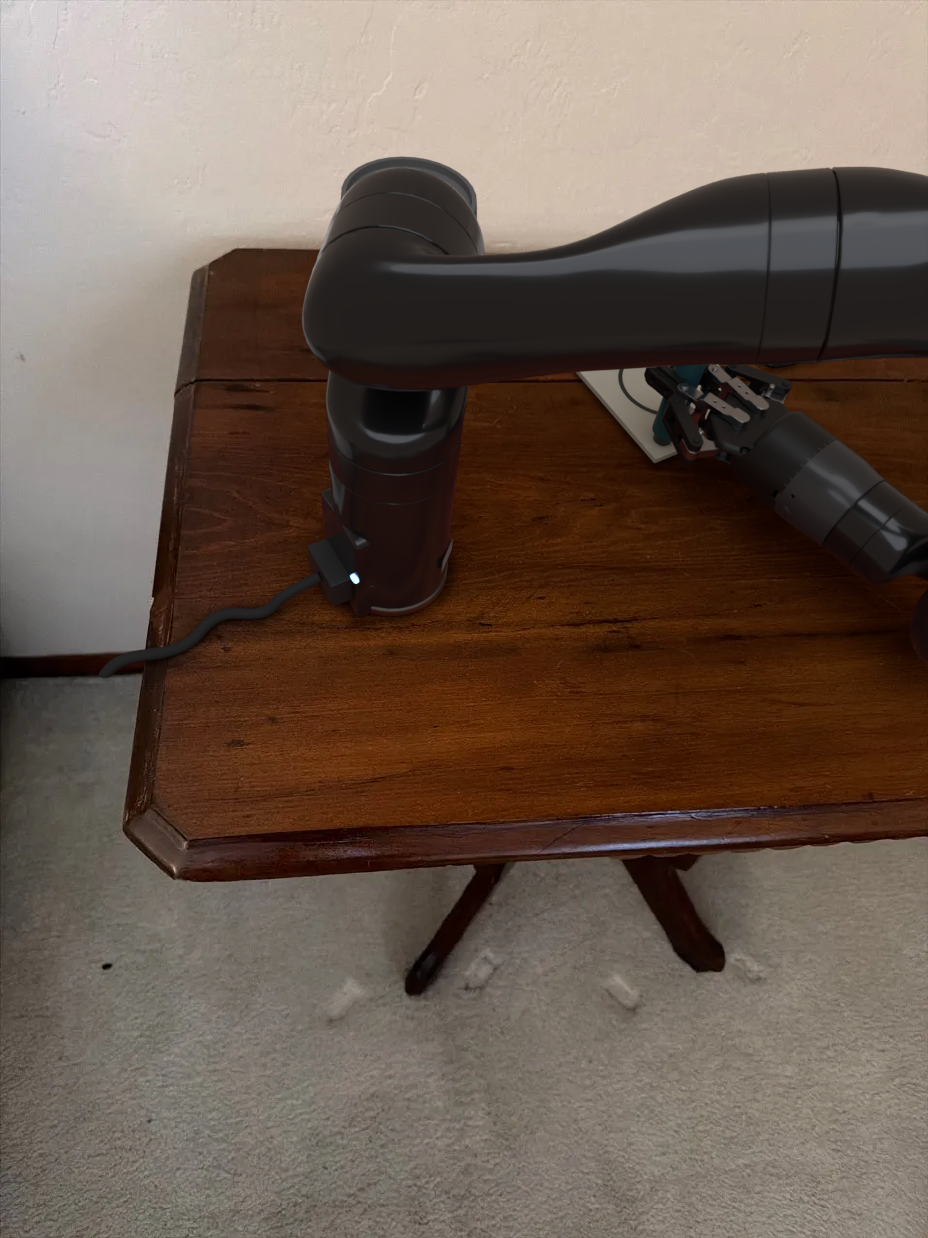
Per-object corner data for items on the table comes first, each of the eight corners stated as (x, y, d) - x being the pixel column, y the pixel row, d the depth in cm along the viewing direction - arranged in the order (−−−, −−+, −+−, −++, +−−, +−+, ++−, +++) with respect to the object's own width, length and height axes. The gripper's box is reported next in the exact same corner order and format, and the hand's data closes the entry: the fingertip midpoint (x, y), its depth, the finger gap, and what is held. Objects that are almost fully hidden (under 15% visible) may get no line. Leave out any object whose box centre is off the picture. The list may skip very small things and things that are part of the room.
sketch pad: (654, 463, 83) (656, 458, 83) (562, 357, 90) (563, 352, 90) (765, 418, 88) (767, 413, 87) (669, 320, 95) (671, 315, 94)
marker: (678, 449, 84) (723, 340, 73) (651, 449, 84) (691, 339, 73) (672, 428, 85) (715, 318, 74) (645, 428, 85) (684, 318, 74)
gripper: (880, 411, 73) (724, 296, 79) (774, 487, 67) (615, 357, 73) (840, 472, 79) (698, 361, 85) (740, 546, 73) (596, 422, 80)
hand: (660, 360), depth 79 cm, fingers closed on marker, 2 cm apart
